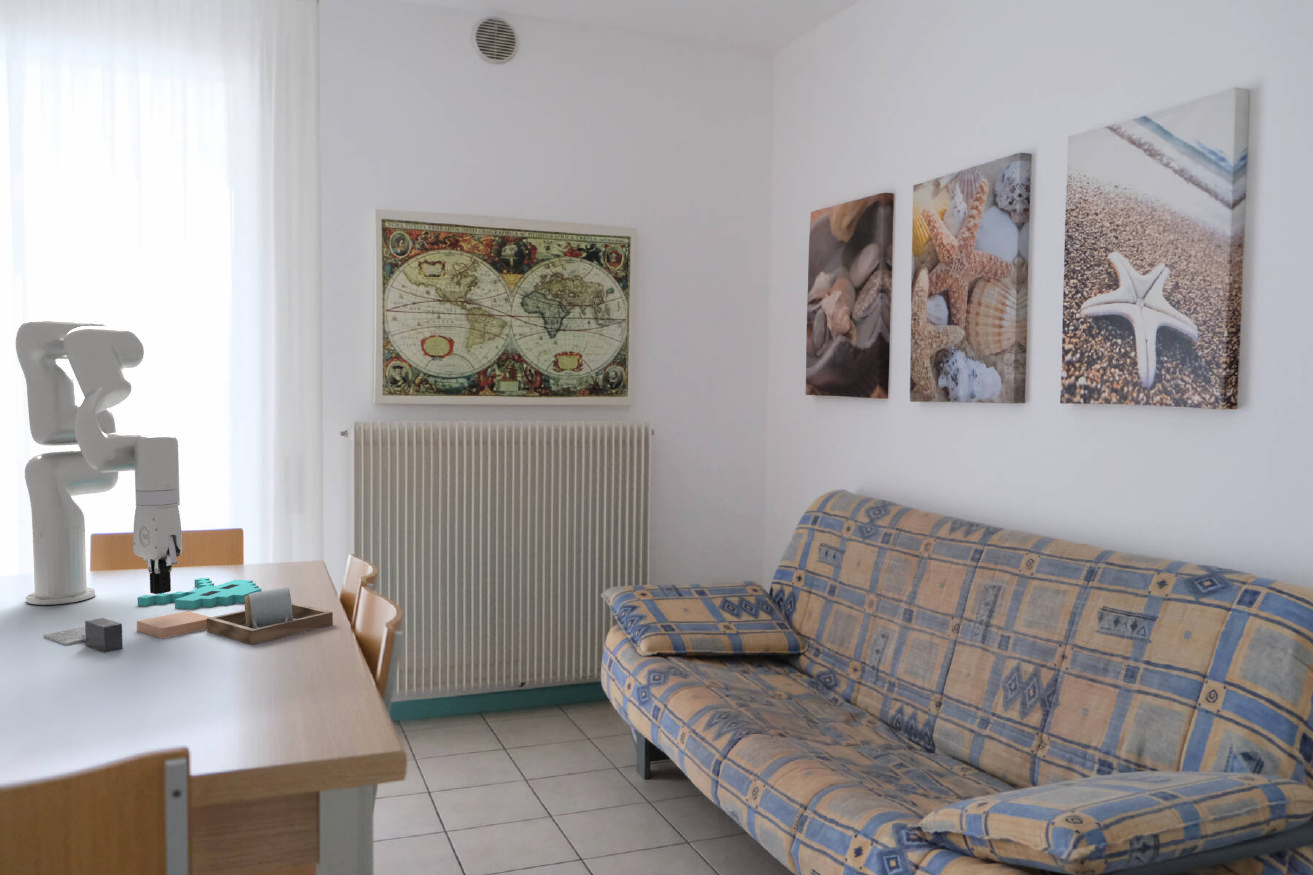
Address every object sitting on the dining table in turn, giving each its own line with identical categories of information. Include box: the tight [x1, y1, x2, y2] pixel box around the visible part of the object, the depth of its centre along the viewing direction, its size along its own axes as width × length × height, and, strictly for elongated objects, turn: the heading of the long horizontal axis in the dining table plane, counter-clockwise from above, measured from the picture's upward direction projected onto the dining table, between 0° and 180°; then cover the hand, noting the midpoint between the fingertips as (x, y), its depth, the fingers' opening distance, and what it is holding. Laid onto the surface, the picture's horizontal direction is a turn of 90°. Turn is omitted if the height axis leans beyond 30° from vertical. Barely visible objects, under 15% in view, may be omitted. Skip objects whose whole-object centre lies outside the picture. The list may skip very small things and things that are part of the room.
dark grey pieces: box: [43, 617, 124, 654], centre depth 173 cm, size 19×7×4 cm, turn 55°
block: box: [136, 610, 211, 639], centre depth 183 cm, size 3×10×9 cm
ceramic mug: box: [244, 586, 293, 629], centre depth 182 cm, size 11×8×8 cm
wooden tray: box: [206, 601, 334, 645], centre depth 183 cm, size 15×17×2 cm
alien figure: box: [137, 577, 262, 610], centre depth 208 cm, size 20×2×20 cm
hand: (160, 592), depth 185 cm, fingers closed
